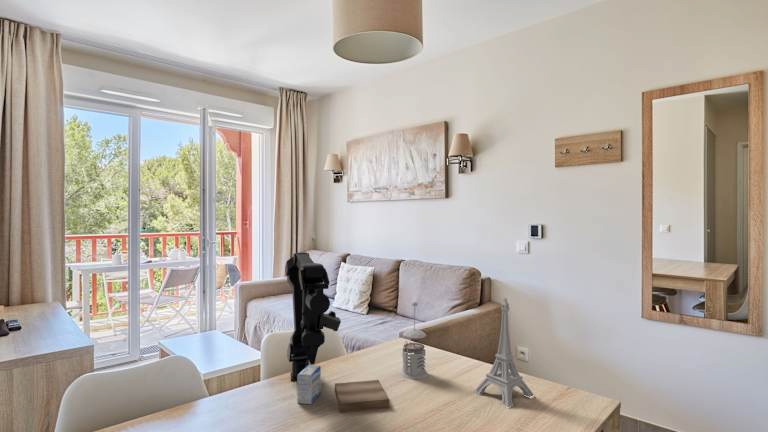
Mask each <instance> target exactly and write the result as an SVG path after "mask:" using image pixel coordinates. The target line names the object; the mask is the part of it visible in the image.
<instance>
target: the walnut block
mask: <svg viewBox="0 0 768 432" xmlns="http://www.w3.org/2000/svg"><path fill="white" fill-rule="evenodd" d="M334 394H335V398H336V401H337V405H338V408H339V412H340V413H341V414H342V413H351V412H359V411H361V412H362V411H371V410H380V409H389V408H390V398H389V396H388V395H387V392H386V391H385V388H384V387H383V385H382V383H381V382H380V380H379V379H375V380H374V379H373V380H372V379H371V380H361V381H350V382H349V381H347V382H338V383H337V382H336V383H334Z"/></svg>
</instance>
